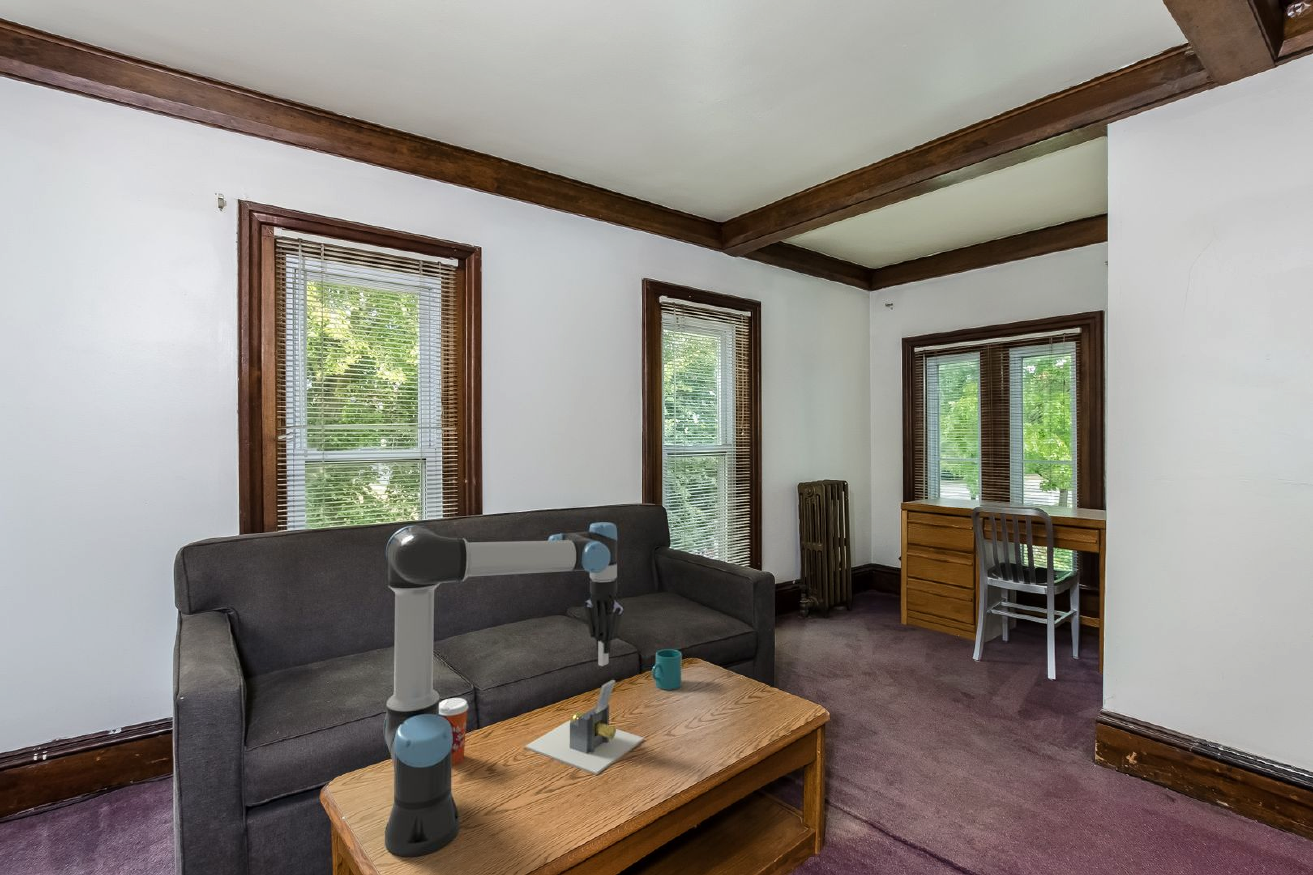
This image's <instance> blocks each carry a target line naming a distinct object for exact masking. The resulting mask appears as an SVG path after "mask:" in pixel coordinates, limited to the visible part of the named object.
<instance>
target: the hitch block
mask: <svg viewBox="0 0 1313 875" xmlns="http://www.w3.org/2000/svg"><path fill="white" fill-rule="evenodd" d="M594 709H595V707H593V708H592V709H590V710H588V711H586V712H584V713H585V714H583V715H581V716H580V717H578V719H576V720H575V721H573V722H571V723H570V748H571V749H574V750H577V751H580V752H582V753H585V754H587V753H589V752H591V753H593V752H594V749H595V748H596V747H598V746H599V745H601V744H602V743H604V742H606V743H608V742H609V738H607V737H604V736H601V735H598V734H595V723H597V722H600V723H603V724H606V725H609V726H610V704H608V705H607V708H605V709H603V710H602V711H600V712H598V713H597V714H595V713H594Z"/></svg>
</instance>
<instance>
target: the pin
mask: <svg viewBox="0 0 1313 875" xmlns="http://www.w3.org/2000/svg"><path fill="white" fill-rule="evenodd" d="M585 713H586V712H582V711H578V710H577V711H575V712H574V713H573V714H572V715H571V718H570V720H571V721H570V723H571V722H573V721H575V720H576V719H578V717H580V716H581V715H583V714H585ZM616 729H617V728H616V727H614V726H612V725H610V724H609V725H606V724H603V723H600V722H597V723H595V734H598V735H601V736H604V737H607V738H610V739H613V738H614V736H615V734H616Z"/></svg>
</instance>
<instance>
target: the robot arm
mask: <svg viewBox="0 0 1313 875" xmlns="http://www.w3.org/2000/svg"><path fill="white" fill-rule="evenodd" d="M385 557H386V560H387V563H388V570H387V572H388V573H387V574H388V578H387V579H388V581H387V582H388V588H389V589H390V590H392V591H393V592H394V595H395V596H394V646H393V647H394V653H393V655H394V656H393V657H394V661H393V668H394V669H393V695H391V696H390V697H389V698H388V699H387V700H386V712H385V713H386V715H385V717H384V722H383V725H382V726H383V728H382V729H383V738H384V741H385V744H386V745H387V747H388V751H389V754H390V757H391V761H392V764H393V770H394V771H393V773H394V774H393V775H394V777H393V778H394V780H393V781H394V782H393V786H394V788H393V789H394V790H393V805H392V808H391V812H390V814H389V818H388V822H387V824H386V827H385V829H384V845H385V848H386V849H387V850H388V851H389V852H390V853H391V854H393V855H397V856H402V857H418V856H423V855H427V854H431V853H433V852H436V851H438V850H440V849H442V848H444V847H445V846H447V845H448V844H449V843H451V842H452V841H453V840H454V839H455V837H456V836H457V835H458V833H459V830H460V814H459V810H458V808H457V805H456V802H455V800H454V796H453V792H452V768H453V765H452V743H453V735H452V730H451V725H450V723H449V722H448V721H447V720H446V719H445V718H444V717H442V716H439V703H440V694H439V693H438V691H436V690H435V689H433V688H434V687H433V685H434V680H433V679H434V629H435V628H434V626H435V625H434V620H435V619H434V617H435V616H434V613H435V610H434V609H435V606H434V605H435V590H436V589H437V587H439V585H441V584H444V583H445V584H446V583H458V582H464V581H465V580H466V579H468V578H469V577H482V576H483V577H484V576H485V577H486V576H498V575H499V576H500V575H501V576H502V575H503V576H504V575H521V574H537V573H538V574H539V573H541V574H542V573H556V572H557V573H558V572H579V571H581V572H582V571H585V572H587V573H589V578H590V580H589V593H590V596H589V599H588V600H586V601H583V602H582V605H583V607H584V608H583V609H584V610H585V614H586V619H587V620H586V621H587V625H588V629H589V636H590V637H591V638H594V639H595V642H596V644H595V645H596V646H595V648H596V652H597V653H598V654H597V657H598V658H597V659H598V660H597V665H598V666H600V667H603V666H606V665H608V664H609V653H610V652H611V641H613V640H616V639H617V638H618V635H619V634H618V633H619V628H620V624H621V619H622V614H623V612H624V611H625V606H624V605H620V604H619V603H618V598H617V593H618V580H617V578H618V530H617V526H616V524H614V523H613V522H600V521H599V522H593V523H590V525H589V530H587V531H584V532H583V531H581V532H570V533H567V532H566V533H562V532H561V533H557V534H552V535H550V536H549V537H548V540H531V541H529V540H527V541H526V540H525V541H521V540H520V541H519V540H518V541H486V542H485V541H482V542H468V540H467V539H466V538H464V537H459V538H458V537H457V538H456V537H446V536H442V535H438V534H436V533H435V532H434V531H433V530H431V529H430V528H428V527H426V526H422V525H420V526H419V525H408V526H405V527H403V528H400V529H398V530H397V531H396V532H395V533H393V534H392V536H391V537H390V539H388V542H387V544H386V549H385Z"/></svg>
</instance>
